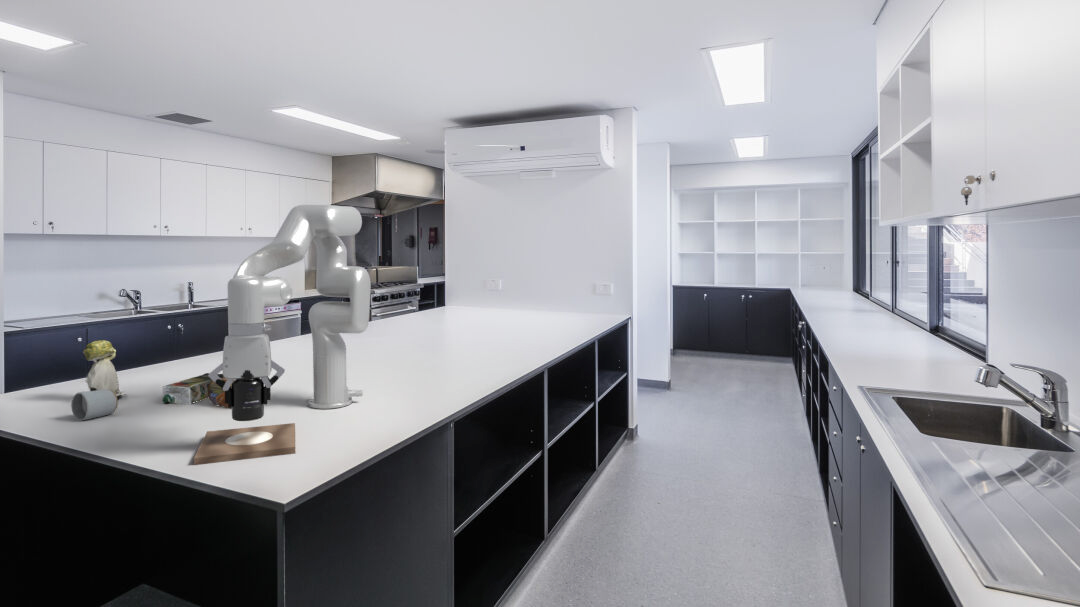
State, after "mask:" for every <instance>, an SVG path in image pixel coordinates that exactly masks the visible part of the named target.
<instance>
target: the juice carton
mask: <svg viewBox="0 0 1080 607" xmlns="http://www.w3.org/2000/svg"><path fill="white" fill-rule="evenodd" d="M209 373H210V372H207V373H206V372H205V373H204V374H201V375H197V376H194V377H190V378H186V379H184V380H183V379H182V380H180V381H176V382H173V383H170V384H167V385H163V386H162V403H163V402H164V403H163V404H166V403H165V402H169V403H173V404H174V403H192V404H194V403H193V402H195V403H197V402H196V401H198V402H201V401H203V399H204V400H206V399H205V398H207V399H209V398H208V386H209V384H210V382H211V381H212V379H211V378H210V377H209V376H208V375H209ZM217 375H218V376H219V377H220V378H224V377H223V373H218V374H217ZM200 400H201V401H200Z"/></svg>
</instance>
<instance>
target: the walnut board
mask: <svg viewBox="0 0 1080 607" xmlns="http://www.w3.org/2000/svg"><path fill="white" fill-rule="evenodd" d="M292 454H296V423H295V422H293V423H292V422H291V423H282V424H281V423H280V424H270V425H262V426H252V427H251V426H250V427H240V428H229V429H228V428H227V429H221V430H220V429H218V430H209V431H206V433H205V435H204V437H203V439H202V441H201V442H200V445H199V447H198V449H197V451H196V453H195V455H194V457H193V465H194V466H196V465H204V464H206V465H207V464H214V463H222V462H223V463H224V462H231V461H232V462H233V461H239V460H240V461H241V460H248V459H257V458H264V457H274V456H282V455H292Z"/></svg>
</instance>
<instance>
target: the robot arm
mask: <svg viewBox="0 0 1080 607" xmlns="http://www.w3.org/2000/svg"><path fill="white" fill-rule="evenodd" d="M362 219H363V217H362V215H361V213H360V211H359V210H358V209H357V208H355V207H354V206H346V205H345V206H344V205H336V204H335V205H334V204H298V205H296V206H294V207H293V208H291V210H290V211H289V212H288V214H287V216H286V217H285V219H284V221H283V222H282V225H281V226H280V227H279V230H278V231H277V233H276V235H275V237H274V239H273V240H272V241H271V242H270V243H268V244H266V245H264V246H262V247H261V248H260V249H258V250H257V251H255V252H254V253H252V254H250V255H249V256H248V257H246V258H245V259H244V260H243V261H242V262H241V264H239V267H238V268H237V269H236V271H235V273H234V274H233V276H232V278H230V279H229V280H228V281H227V287H226V288H227V321H228V323H227V324H228V325H227V326H228V328H227V329H228V335H226V336H225V337H224V341H223V342H224V343H223V349H222V350H223V351H222V362H221V363H220V364H219V365H217V367H215V368H214V369H213V370H212V371H210V372H208V373H209V375H208V376H209V377H210V378H211V379H212V380H213V381H214V382H215V383H216V384H217V385H218V386H220V387H221V388H222V389H223V390H224V391H225V404H226V403H228V409H232V408H231V407H232V388H231V386H230V385H231V384H232V382H233V380H234V379H241V378H242V377H241V376H243V373H244V372H245V370H246V371H247V370H248V371H249V370H250V373H252V375H254V377H253V378H261V379H262V381H263V383H264V389H263V391H264V406H265V405H266V406H268V401H271V387H272V386H273V385H274V384H275V383H277V382H278V380H279V379H280V378H281V377H282V376H283V374H285V368H284V367H282V366H281V365H279V364H278V363H276V362H275V361H274V360H272V352H271V351H272V350H271V343H270V337H269V335H268V334H265V333H266V332H268V331H272V325H271V324H267V323H266V322H265V307H266V308H267V307H268V308H277V307H282V306H285V305H287V304H288V302H290V300H291V299H292V297H293V287H292V284H291V283H290V282H289V281H288V280H287V279H285V278H283V277H282V276H270V275H269V276H268V274H270V273H272V272H273V271H276V270H279V269H283V268H285V267H288V266H292V265H294V264H297V263H299V262H300V261H302V260H303V259H304V258H305V256H306V254H307V252H308V250H309V248H310V246H311V244H312V242H314V244H315V247H316V251H317V253H316V254H317V255H316V256H317V257H316V258H317V260H316V276H315V281H316V282H315V285H316V291H317V293H318V294H319V295H321V296H324V297H328V298H329V297H331V298H349V301H338V300H337V301H332V300H330V301H329V300H328V301H327V300H325V301H319V302H317V303H315V304H313V305H312V306H311V307H310V309H309V311H308V324H309V327H310V332H311V338H312V368H313V369H312V370H313V371H312V374H313V375H312V376H313V378H312V379H313V380H312V381H313V382H312V383H313V398H311V399H309V400H308V404H307V405H308V407H310V408H313V409H319V410H321V409H324V410H326V409H327V410H329V409H337V408H342V407H347V406H348V405H350V404H352V403H353V399H352V397H357V398H358V397H363V390H362V389H349V388H348V386H347V383H348V382H347V345H346V343H345V340H344V338H343V337H342V336H341V334H362V333H363V332H365V331H366V330H367V328H368V327H369V321H370V308H371V307H370V306H371V290H372V289H371V288H372V287H371V286H372V285H371V284H372V282H371V277H370V275H369V272H368V271H367V270H366V268H364V267H363V266H356V265H348V259H347V258H348V251H347V247H346V245H345V243H344V242H343V241H342V239H341V238H340V237H344V236H345V237H346V236H355V235H357V234H358V233H359V232H360V230H361V228H362V225H363V220H362ZM272 370H275V372H276V373H275V374H273V376H272V377H269V376H270V375H271V372H272ZM221 372H222V374H223V377H224V378H226V379H227V381H226V382H225V381H224V380H222V379H221V378H220V377H219V376H218V375H217V374H220V373H221Z"/></svg>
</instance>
